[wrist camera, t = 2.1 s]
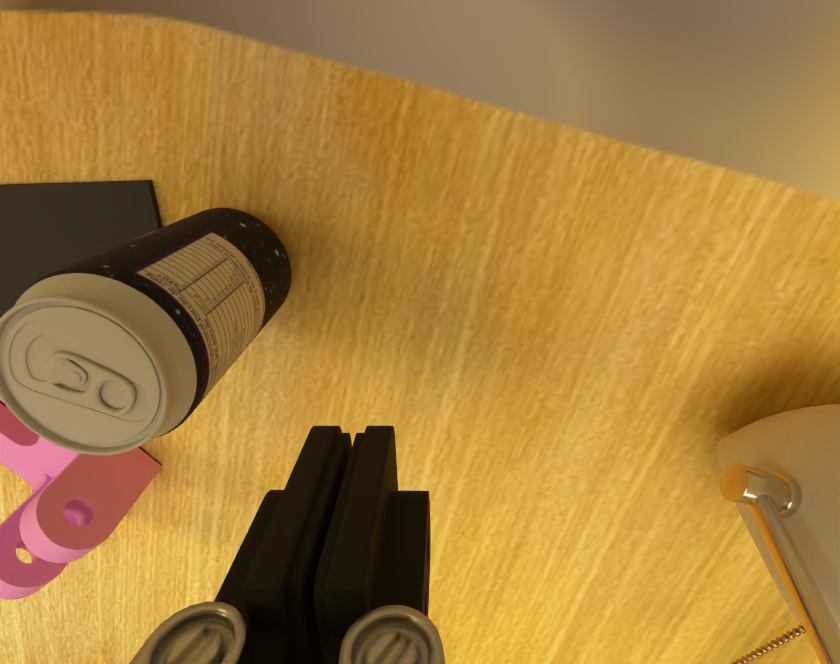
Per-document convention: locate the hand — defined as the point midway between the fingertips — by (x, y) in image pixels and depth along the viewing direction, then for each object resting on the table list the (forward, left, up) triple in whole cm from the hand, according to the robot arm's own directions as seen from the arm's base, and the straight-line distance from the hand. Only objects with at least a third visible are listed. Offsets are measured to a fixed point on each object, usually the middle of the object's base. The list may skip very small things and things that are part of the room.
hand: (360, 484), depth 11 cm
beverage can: (-1, -8, -16) cm, 18 cm away
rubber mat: (0, -17, -15) cm, 23 cm away
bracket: (+8, -21, -15) cm, 27 cm away
